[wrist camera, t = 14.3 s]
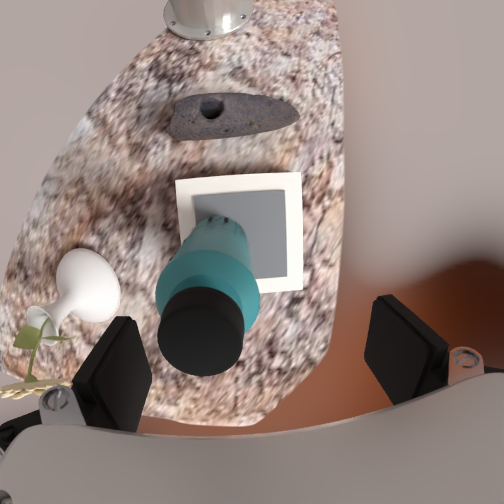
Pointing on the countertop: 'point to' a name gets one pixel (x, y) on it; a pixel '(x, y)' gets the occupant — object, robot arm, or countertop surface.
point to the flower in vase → (67, 311)
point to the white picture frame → (253, 220)
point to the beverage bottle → (207, 299)
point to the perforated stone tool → (228, 116)
